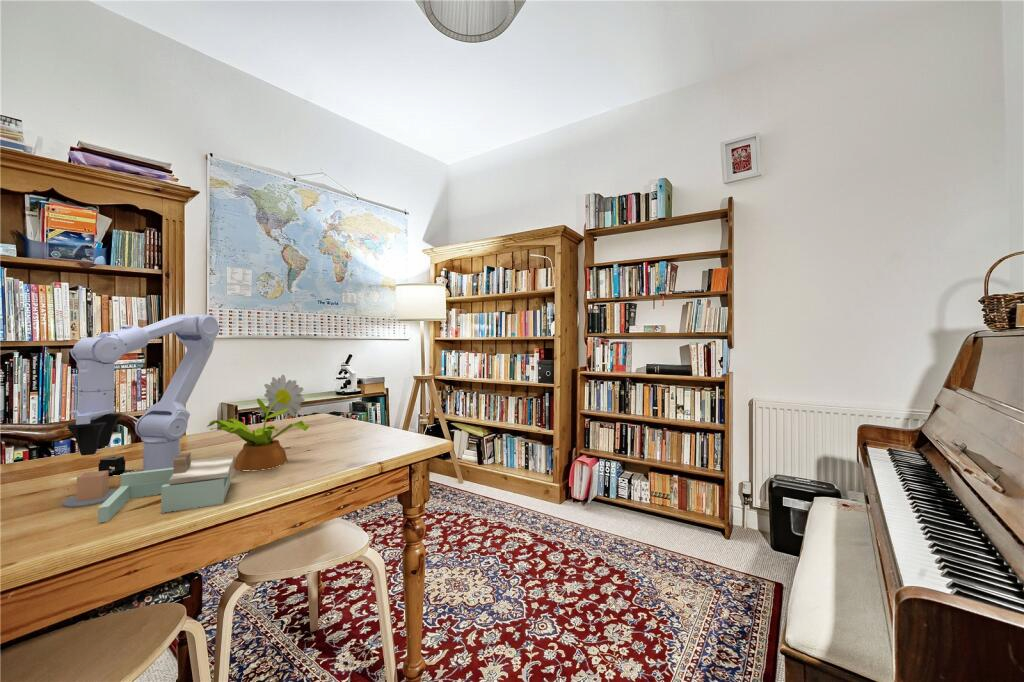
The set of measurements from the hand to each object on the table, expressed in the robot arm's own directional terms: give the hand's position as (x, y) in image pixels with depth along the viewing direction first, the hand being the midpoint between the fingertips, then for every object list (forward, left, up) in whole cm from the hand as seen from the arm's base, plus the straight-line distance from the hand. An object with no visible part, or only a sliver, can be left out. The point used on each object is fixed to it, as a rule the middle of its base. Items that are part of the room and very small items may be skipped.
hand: (95, 450), depth 91 cm
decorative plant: (-10, +30, -11) cm, 34 cm away
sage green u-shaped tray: (+11, +16, -10) cm, 22 cm away
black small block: (-18, -2, -11) cm, 22 cm away
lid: (+11, +21, -5) cm, 24 cm away
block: (+2, 0, -10) cm, 10 cm away
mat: (+2, 0, -10) cm, 11 cm away
